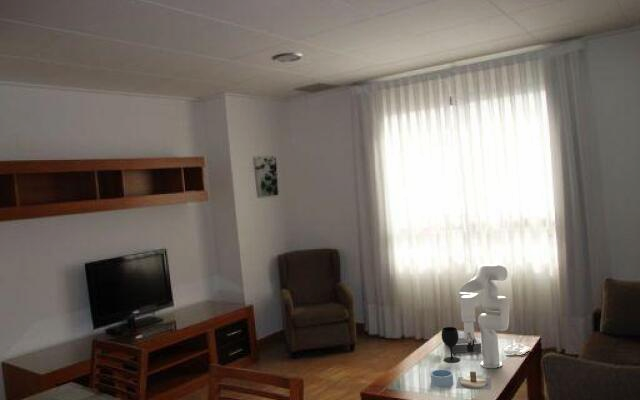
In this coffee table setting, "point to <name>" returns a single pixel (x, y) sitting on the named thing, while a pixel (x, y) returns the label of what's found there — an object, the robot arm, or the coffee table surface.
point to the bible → (465, 345)
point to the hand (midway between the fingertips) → (470, 348)
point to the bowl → (442, 378)
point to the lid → (473, 381)
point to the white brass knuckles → (516, 348)
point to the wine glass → (450, 342)
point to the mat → (487, 387)
